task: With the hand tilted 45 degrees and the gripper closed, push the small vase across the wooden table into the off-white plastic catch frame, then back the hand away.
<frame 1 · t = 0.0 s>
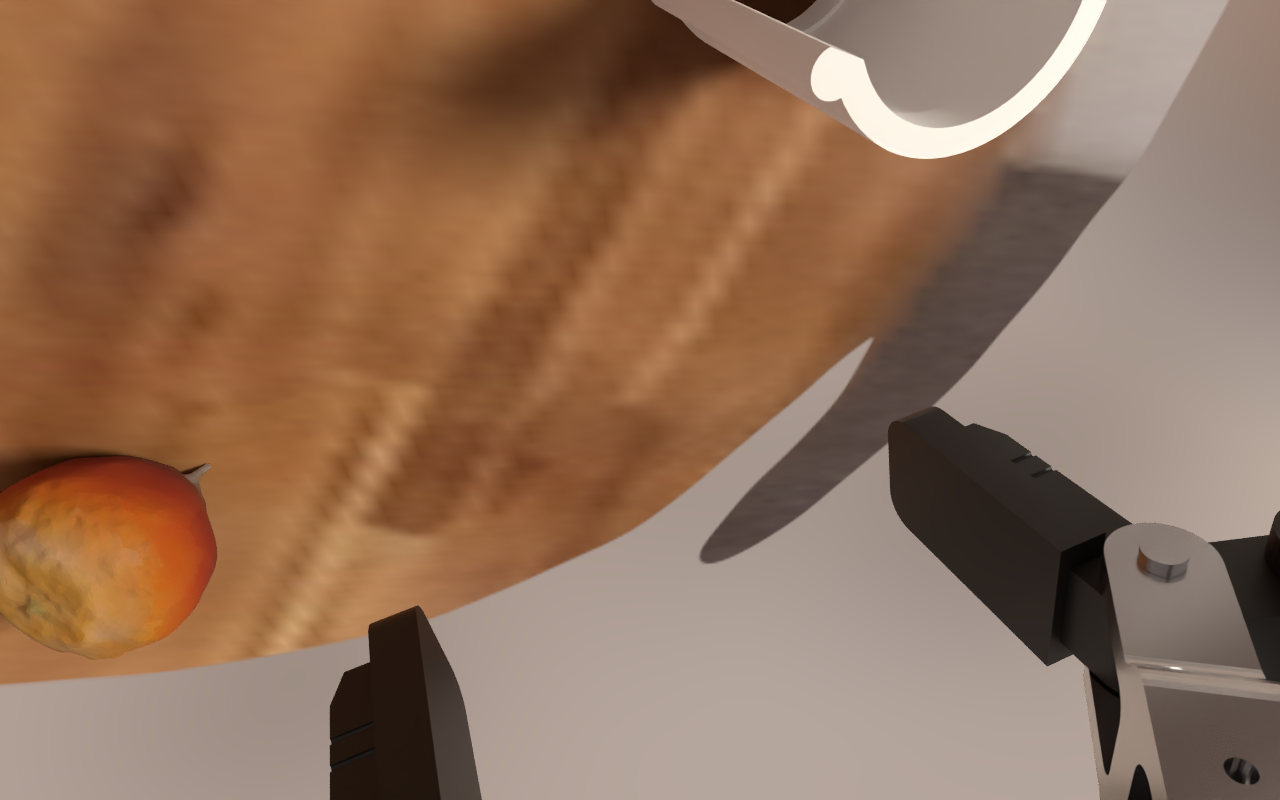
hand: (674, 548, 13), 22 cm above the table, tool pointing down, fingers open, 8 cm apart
fruit: (114, 491, 34), on the table
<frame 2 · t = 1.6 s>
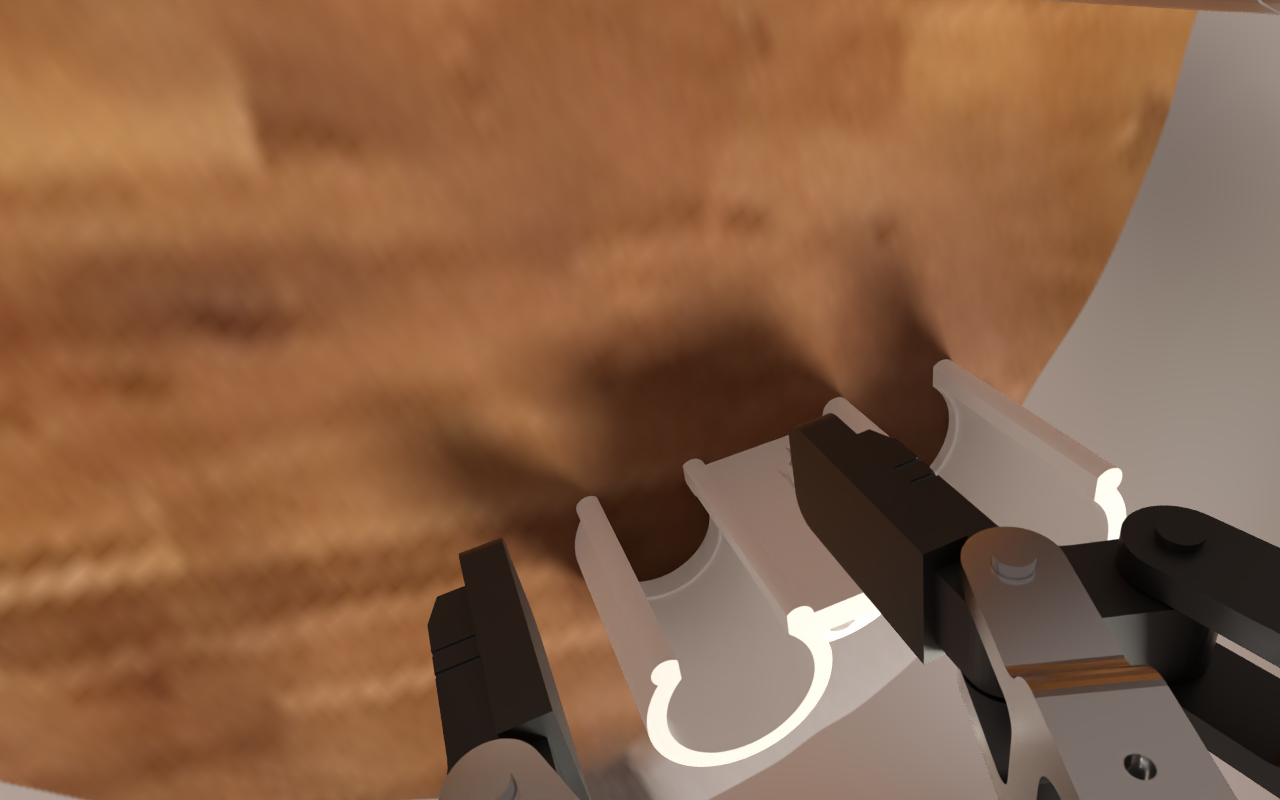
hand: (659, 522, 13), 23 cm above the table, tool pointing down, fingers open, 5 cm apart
bracket: (777, 484, 47), on the table
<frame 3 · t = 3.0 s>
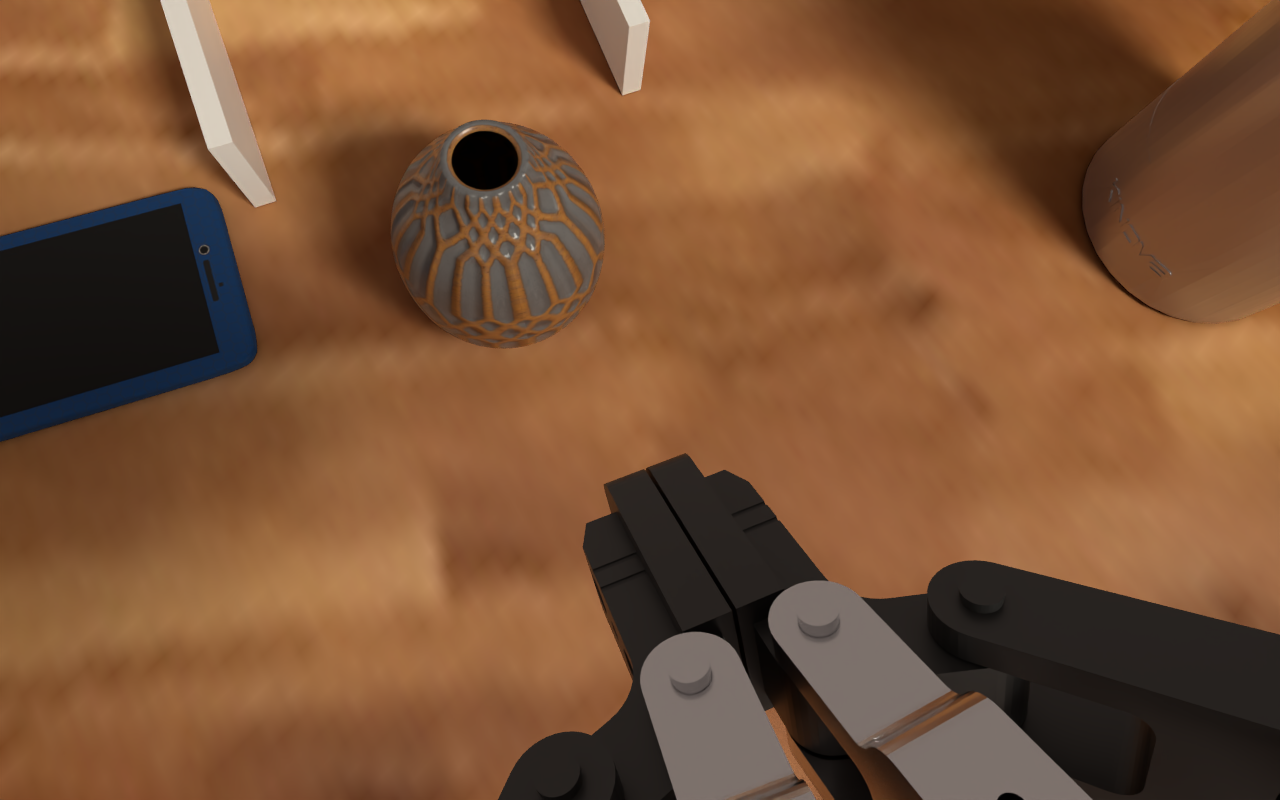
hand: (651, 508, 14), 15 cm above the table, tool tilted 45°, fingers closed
catch frame: (406, 20, 32), on the table
vase: (509, 283, 30), on the table
cell phone: (48, 333, 29), on the table
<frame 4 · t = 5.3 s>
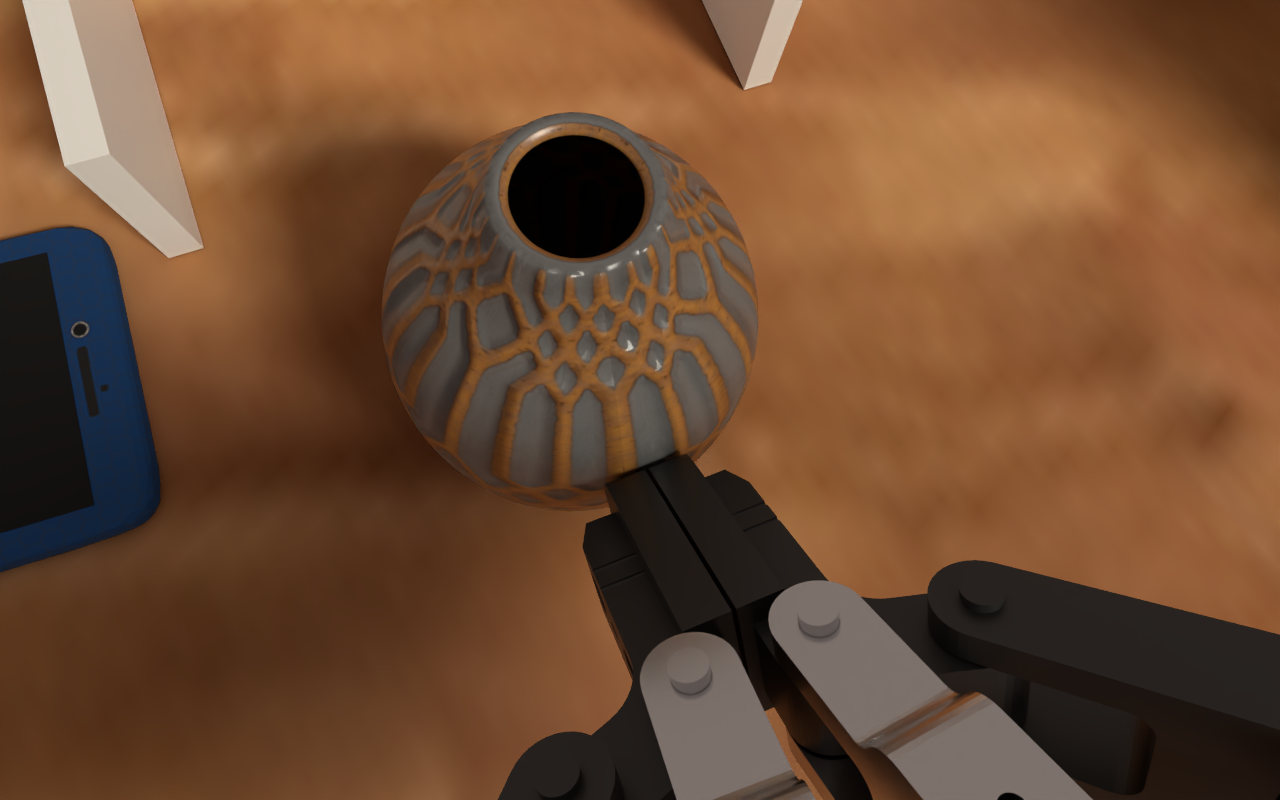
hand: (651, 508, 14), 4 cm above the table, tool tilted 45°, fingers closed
vase: (571, 381, 19), on the table, touching gripper
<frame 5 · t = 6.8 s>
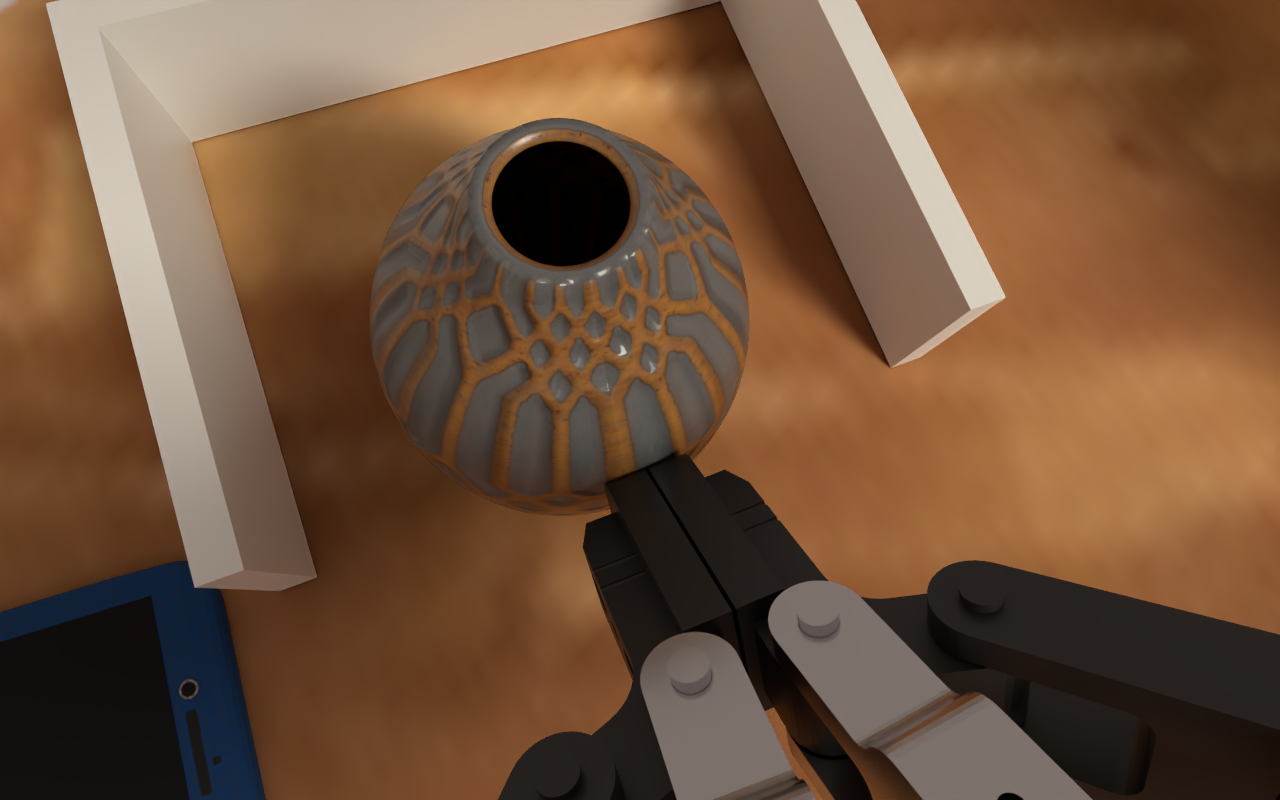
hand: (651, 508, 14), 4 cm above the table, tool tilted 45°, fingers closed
catch frame: (535, 237, 19), on the table
vase: (564, 384, 19), on the table, touching gripper
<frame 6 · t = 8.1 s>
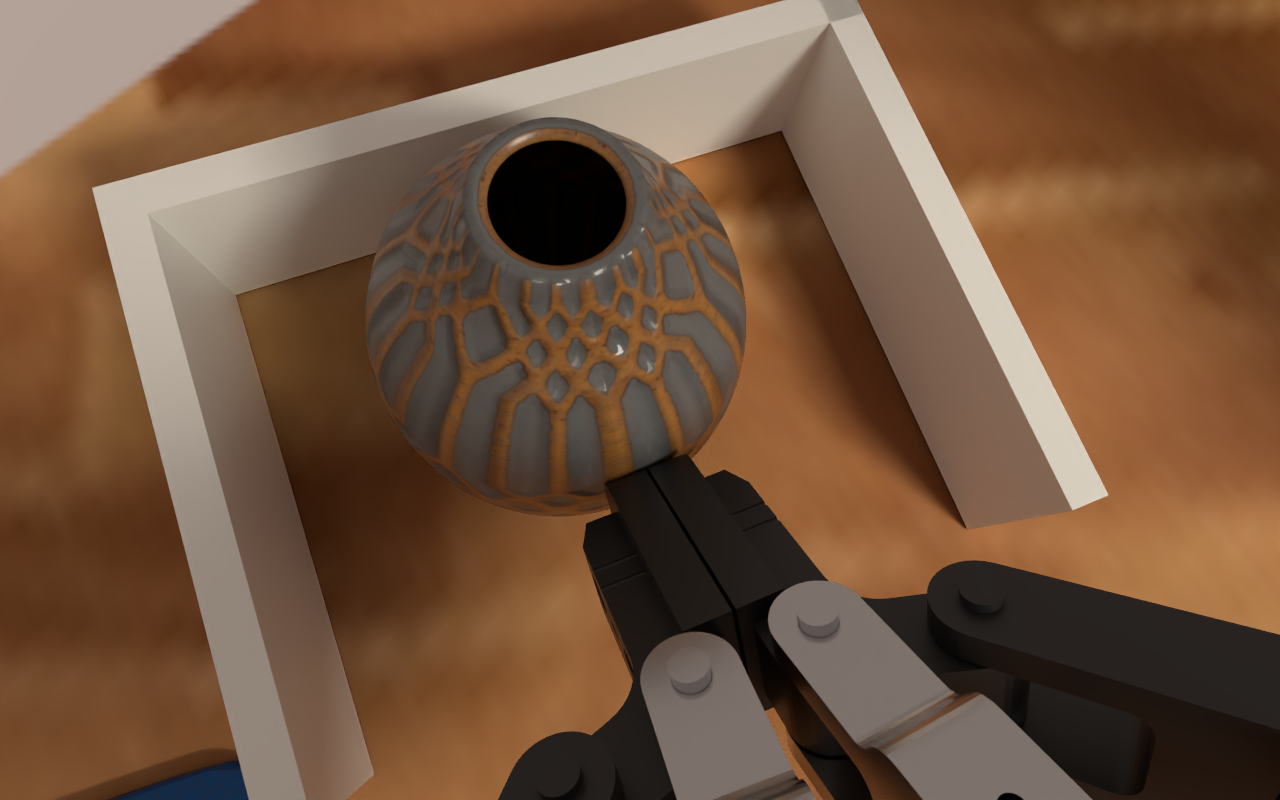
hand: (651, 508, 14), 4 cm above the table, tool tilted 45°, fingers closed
catch frame: (595, 393, 19), on the table
vase: (561, 384, 19), on the table, touching gripper
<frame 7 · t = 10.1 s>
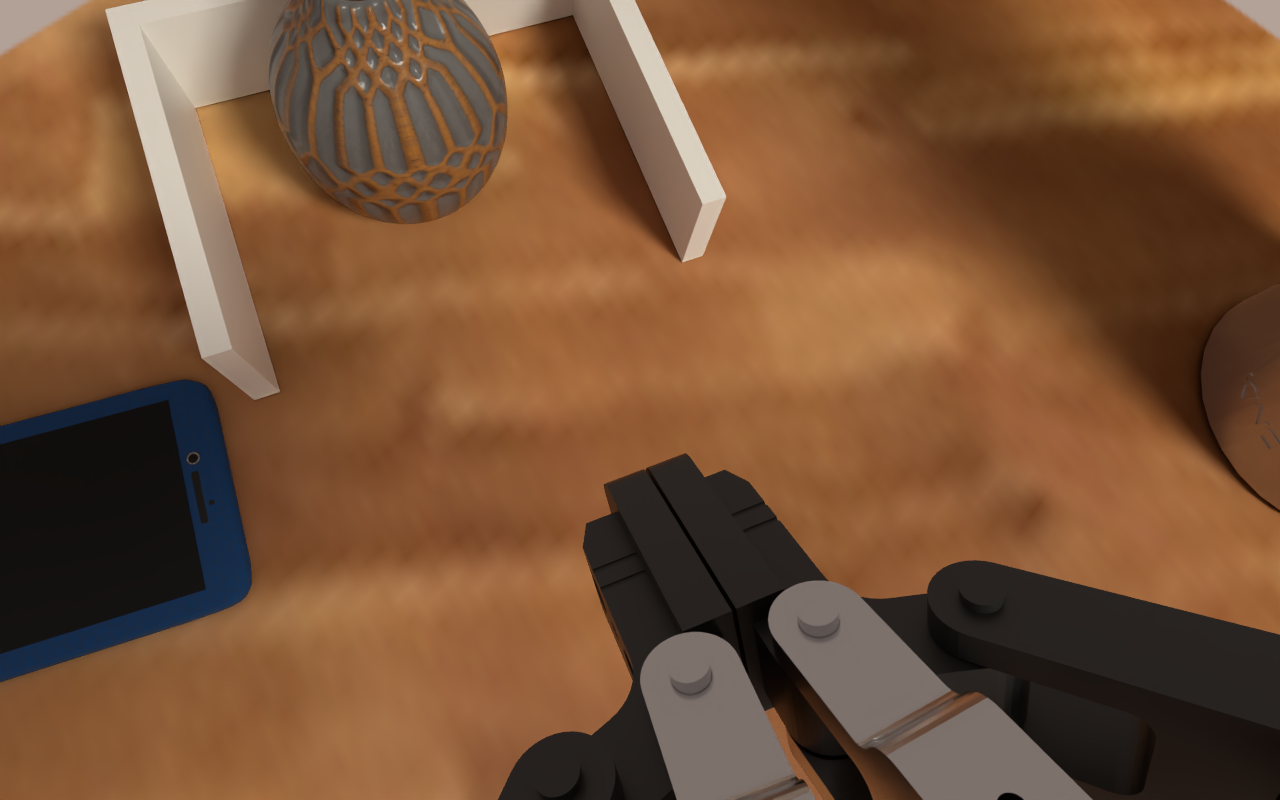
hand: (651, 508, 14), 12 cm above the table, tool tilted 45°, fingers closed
catch frame: (435, 173, 28), on the table
vase: (414, 168, 28), on the table
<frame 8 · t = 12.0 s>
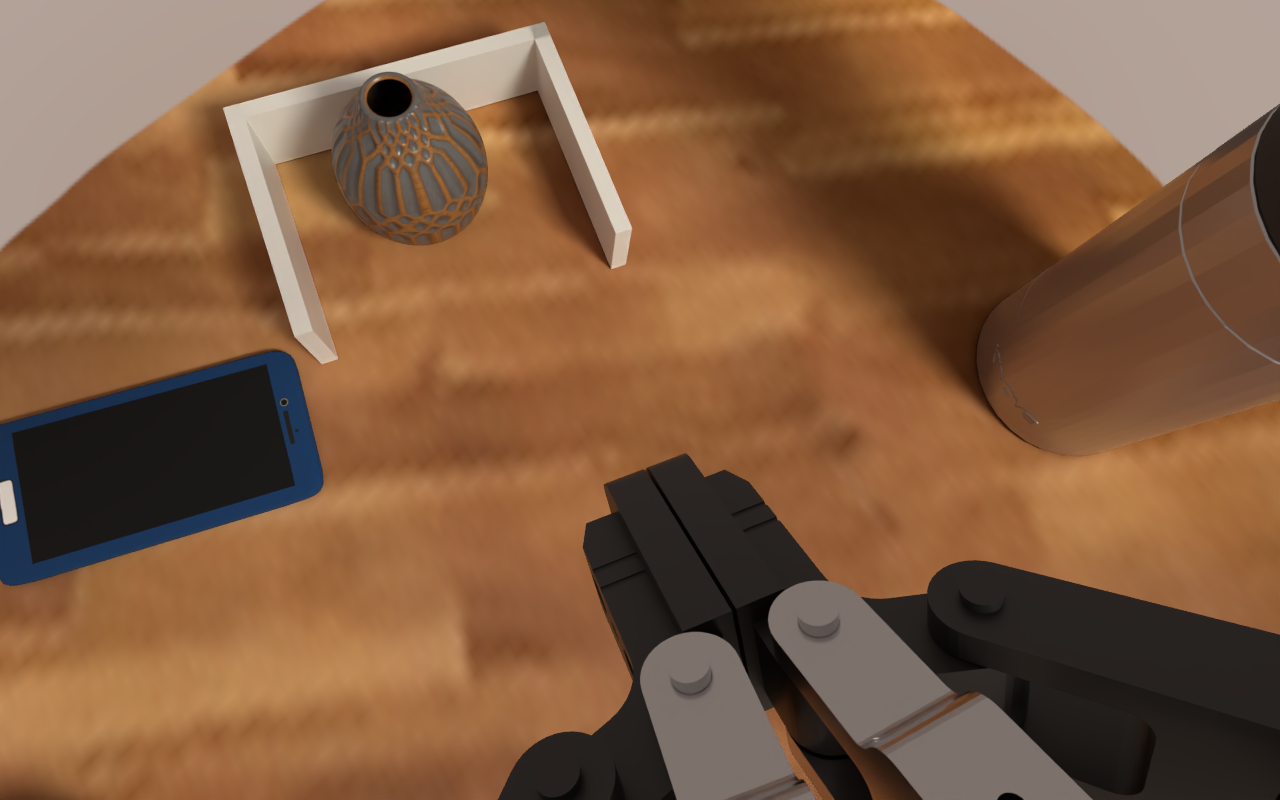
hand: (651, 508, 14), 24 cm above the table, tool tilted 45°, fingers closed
catch frame: (440, 208, 41), on the table
vase: (425, 204, 41), on the table
cell phone: (161, 465, 37), on the table
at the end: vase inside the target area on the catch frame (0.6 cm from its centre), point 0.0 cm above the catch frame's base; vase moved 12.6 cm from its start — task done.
